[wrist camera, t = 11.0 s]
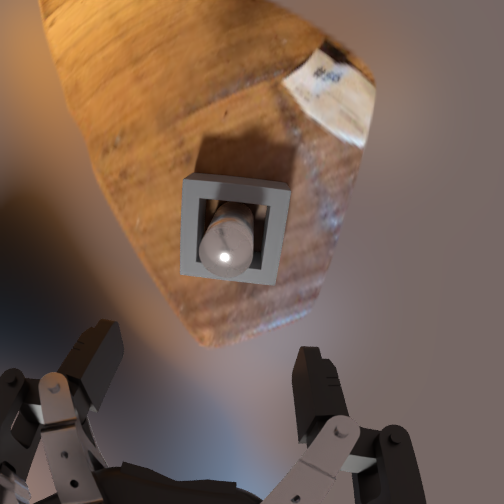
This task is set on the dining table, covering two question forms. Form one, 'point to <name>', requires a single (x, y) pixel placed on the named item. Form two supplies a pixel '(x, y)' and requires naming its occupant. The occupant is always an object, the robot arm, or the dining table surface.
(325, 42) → the dining table surface
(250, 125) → the dining table surface
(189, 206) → the box
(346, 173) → the dining table surface
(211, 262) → the peg
